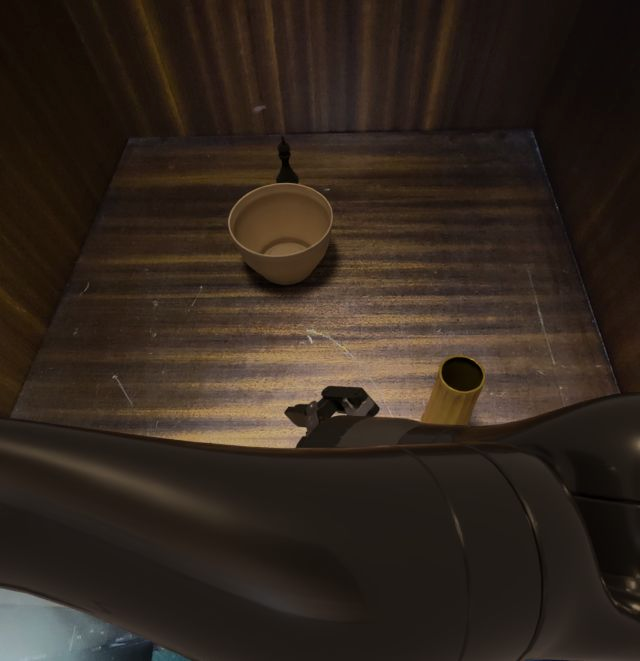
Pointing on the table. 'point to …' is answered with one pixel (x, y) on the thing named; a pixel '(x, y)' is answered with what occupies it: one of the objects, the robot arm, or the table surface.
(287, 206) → the planter bowl
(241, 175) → the table surface
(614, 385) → the table surface
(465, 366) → the vase
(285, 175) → the chess piece
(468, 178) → the table surface
